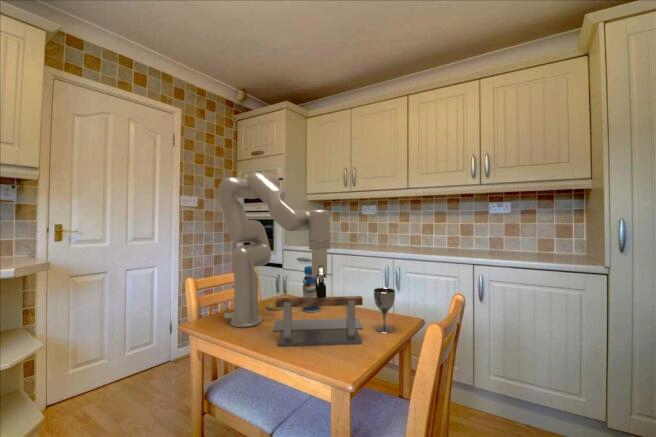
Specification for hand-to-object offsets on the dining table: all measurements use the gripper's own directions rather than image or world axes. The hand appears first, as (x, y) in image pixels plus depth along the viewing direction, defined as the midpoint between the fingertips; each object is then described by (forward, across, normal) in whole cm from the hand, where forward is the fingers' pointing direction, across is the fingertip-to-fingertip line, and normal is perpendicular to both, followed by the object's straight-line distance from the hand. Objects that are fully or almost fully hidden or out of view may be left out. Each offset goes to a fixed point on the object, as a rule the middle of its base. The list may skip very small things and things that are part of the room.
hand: (320, 293), depth 106 cm
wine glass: (+16, -8, +24) cm, 30 cm away
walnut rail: (+4, 0, 0) cm, 4 cm away
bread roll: (+16, -40, -20) cm, 48 cm away
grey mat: (+16, -14, -1) cm, 21 cm away
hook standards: (+16, 0, -1) cm, 16 cm away
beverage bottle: (+16, -36, -3) cm, 39 cm away
